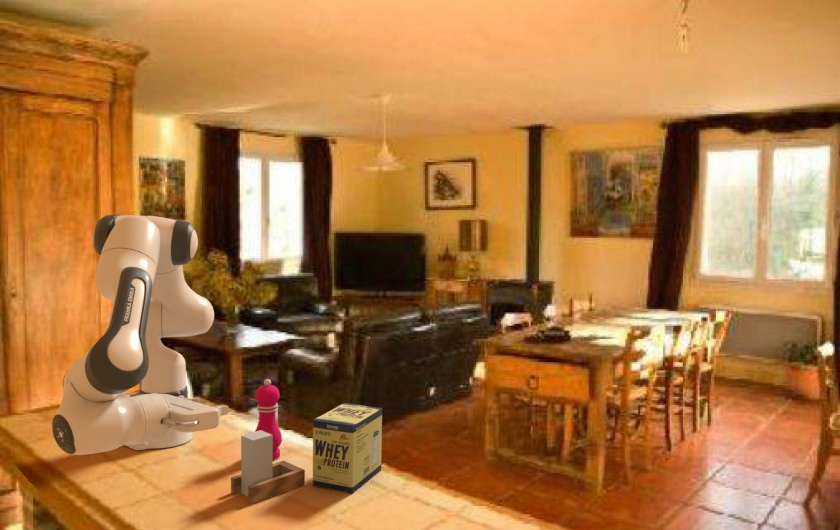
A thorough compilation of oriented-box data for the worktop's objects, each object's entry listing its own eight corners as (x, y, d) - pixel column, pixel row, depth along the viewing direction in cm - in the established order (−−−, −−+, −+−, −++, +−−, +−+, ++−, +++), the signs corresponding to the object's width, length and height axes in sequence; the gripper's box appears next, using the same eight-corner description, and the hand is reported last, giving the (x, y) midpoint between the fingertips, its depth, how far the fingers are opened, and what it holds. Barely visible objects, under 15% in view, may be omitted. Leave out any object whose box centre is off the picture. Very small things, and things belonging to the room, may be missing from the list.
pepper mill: (274, 463, 163) (274, 383, 161) (247, 460, 164) (247, 381, 163) (286, 453, 170) (286, 376, 168) (260, 450, 171) (260, 374, 170)
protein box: (311, 486, 149) (311, 419, 148) (344, 463, 164) (344, 401, 163) (352, 494, 145) (353, 425, 144) (382, 470, 160) (383, 407, 159)
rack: (251, 503, 140) (251, 487, 140) (230, 492, 145) (230, 477, 145) (304, 484, 150) (304, 469, 150) (283, 475, 155) (283, 460, 155)
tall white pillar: (253, 499, 142) (252, 440, 141) (241, 493, 145) (241, 435, 144) (272, 492, 146) (272, 434, 145) (260, 486, 149) (260, 430, 148)
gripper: (178, 410, 118) (243, 397, 129) (123, 393, 131) (186, 383, 142) (178, 445, 118) (243, 430, 129) (123, 424, 131) (186, 412, 142)
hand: (213, 405), depth 136 cm, fingers open, 8 cm apart
